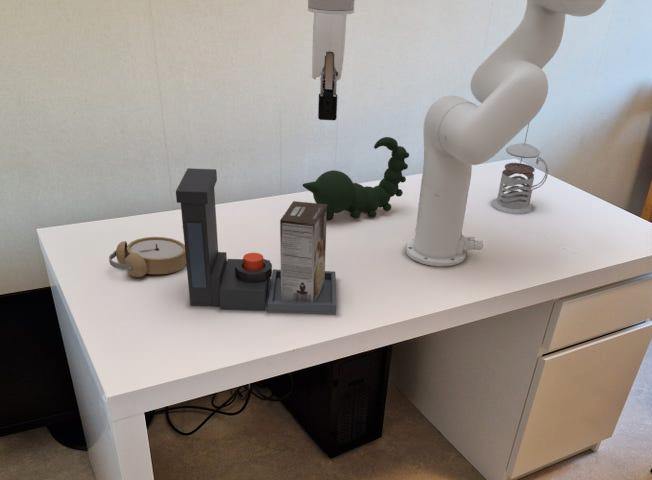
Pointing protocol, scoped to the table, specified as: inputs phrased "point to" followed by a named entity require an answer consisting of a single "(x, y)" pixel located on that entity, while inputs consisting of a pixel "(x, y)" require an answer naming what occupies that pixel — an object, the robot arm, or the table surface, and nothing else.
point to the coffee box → (303, 251)
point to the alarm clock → (150, 256)
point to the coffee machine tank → (201, 236)
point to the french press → (518, 180)
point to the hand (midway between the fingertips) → (327, 118)
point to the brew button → (253, 261)
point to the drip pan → (321, 306)
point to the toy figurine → (361, 187)
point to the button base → (244, 286)
